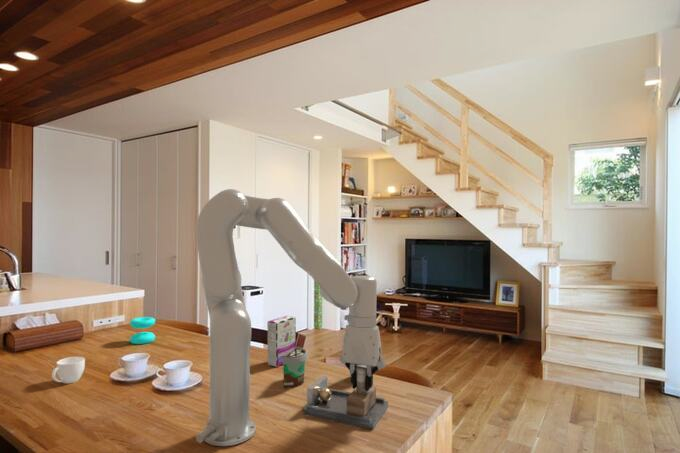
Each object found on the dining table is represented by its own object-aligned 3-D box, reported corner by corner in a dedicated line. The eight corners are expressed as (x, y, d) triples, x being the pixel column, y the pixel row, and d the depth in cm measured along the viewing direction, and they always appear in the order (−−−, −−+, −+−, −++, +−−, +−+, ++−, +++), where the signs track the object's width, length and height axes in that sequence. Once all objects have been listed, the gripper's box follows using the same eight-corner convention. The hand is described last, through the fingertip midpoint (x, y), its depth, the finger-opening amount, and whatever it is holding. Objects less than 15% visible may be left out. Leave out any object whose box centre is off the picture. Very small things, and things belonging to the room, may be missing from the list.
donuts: (137, 316, 180) (159, 316, 180) (137, 338, 180) (159, 338, 180) (125, 321, 170) (148, 321, 170) (125, 344, 170) (148, 345, 170)
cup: (90, 378, 133) (90, 358, 133) (61, 389, 124) (61, 368, 124) (73, 375, 135) (73, 355, 135) (43, 386, 126) (43, 365, 126)
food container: (301, 391, 125) (301, 359, 125) (282, 389, 126) (282, 357, 126) (311, 376, 137) (312, 347, 137) (294, 375, 138) (294, 346, 138)
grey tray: (373, 429, 101) (373, 403, 101) (302, 414, 109) (303, 390, 109) (388, 406, 114) (388, 384, 114) (324, 394, 122) (324, 373, 122)
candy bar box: (286, 357, 157) (286, 315, 157) (296, 359, 154) (296, 316, 154) (266, 365, 147) (266, 320, 147) (276, 367, 145) (277, 322, 145)
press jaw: (364, 416, 104) (364, 374, 104) (346, 413, 106) (347, 371, 106) (375, 401, 114) (376, 362, 114) (359, 398, 116) (359, 360, 116)
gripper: (329, 321, 110) (329, 388, 110) (387, 327, 103) (386, 398, 103) (340, 315, 117) (339, 378, 117) (395, 321, 110) (394, 388, 110)
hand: (361, 387), depth 110 cm, fingers closed on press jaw, 3 cm apart
